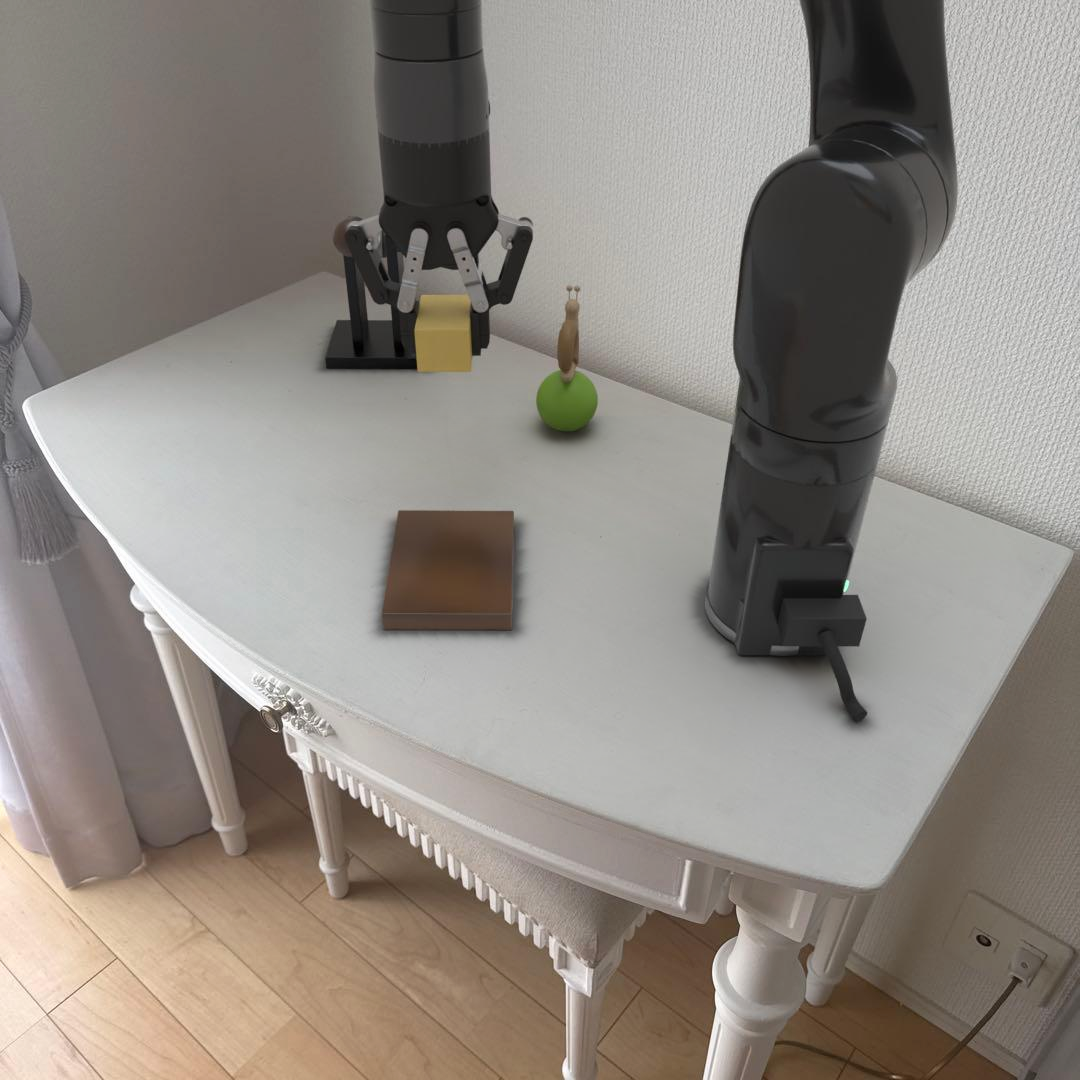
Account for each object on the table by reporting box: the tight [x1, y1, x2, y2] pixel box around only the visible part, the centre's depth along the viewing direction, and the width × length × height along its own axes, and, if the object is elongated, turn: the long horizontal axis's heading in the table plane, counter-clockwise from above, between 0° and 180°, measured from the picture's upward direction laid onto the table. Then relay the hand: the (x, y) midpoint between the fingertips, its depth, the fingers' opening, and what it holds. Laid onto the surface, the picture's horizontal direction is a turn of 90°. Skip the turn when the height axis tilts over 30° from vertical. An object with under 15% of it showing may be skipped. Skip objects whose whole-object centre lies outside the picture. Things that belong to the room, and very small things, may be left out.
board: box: [380, 509, 515, 631], centre depth 77 cm, size 12×9×2 cm
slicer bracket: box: [324, 216, 418, 370], centre depth 101 cm, size 8×10×13 cm
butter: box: [414, 294, 473, 373], centre depth 80 cm, size 6×4×4 cm, turn 0°
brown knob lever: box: [332, 216, 387, 259], centre depth 92 cm, size 15×3×3 cm, turn 1°
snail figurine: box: [535, 284, 599, 432], centre depth 91 cm, size 5×6×12 cm
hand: (447, 350), depth 81 cm, fingers closed on butter, 4 cm apart
